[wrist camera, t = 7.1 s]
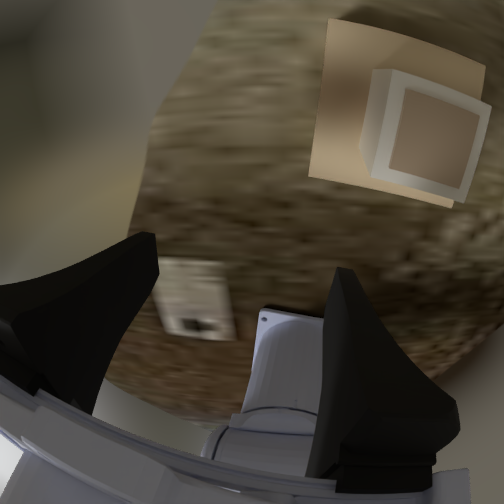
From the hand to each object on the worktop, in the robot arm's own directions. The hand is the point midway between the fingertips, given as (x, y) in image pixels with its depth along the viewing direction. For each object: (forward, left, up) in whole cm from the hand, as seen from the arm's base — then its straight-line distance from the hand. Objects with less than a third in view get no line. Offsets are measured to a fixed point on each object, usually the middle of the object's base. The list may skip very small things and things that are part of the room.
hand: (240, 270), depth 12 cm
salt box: (+6, -7, -7) cm, 12 cm away
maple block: (+6, -7, -10) cm, 14 cm away
